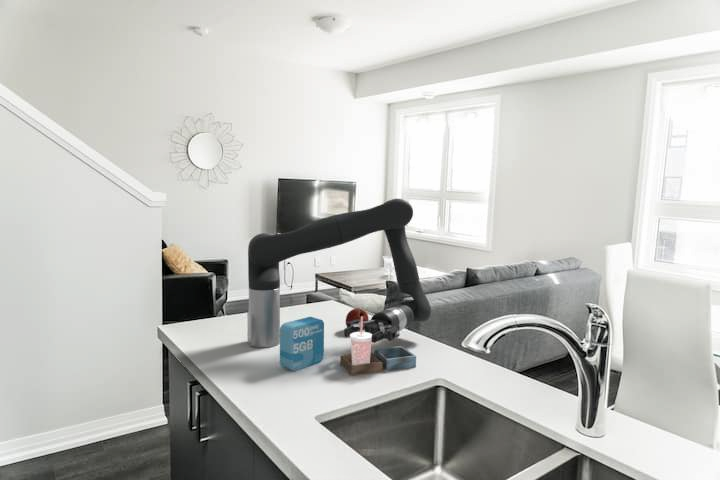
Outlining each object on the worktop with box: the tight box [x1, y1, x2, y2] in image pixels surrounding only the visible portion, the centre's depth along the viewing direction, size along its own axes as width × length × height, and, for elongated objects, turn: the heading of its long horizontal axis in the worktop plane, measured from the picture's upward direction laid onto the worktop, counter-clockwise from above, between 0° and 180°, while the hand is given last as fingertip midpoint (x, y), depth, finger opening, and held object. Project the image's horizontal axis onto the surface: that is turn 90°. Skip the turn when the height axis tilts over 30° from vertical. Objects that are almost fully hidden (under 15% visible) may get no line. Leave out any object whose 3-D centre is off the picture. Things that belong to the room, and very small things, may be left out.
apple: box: [345, 307, 370, 332], centre depth 162 cm, size 7×8×8 cm
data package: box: [279, 316, 325, 372], centre depth 131 cm, size 12×4×12 cm, turn 138°
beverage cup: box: [349, 316, 372, 365], centre depth 130 cm, size 6×6×14 cm
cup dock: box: [339, 346, 417, 377], centre depth 132 cm, size 19×9×3 cm, turn 112°
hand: (358, 336), depth 128 cm, fingers open, 8 cm apart
